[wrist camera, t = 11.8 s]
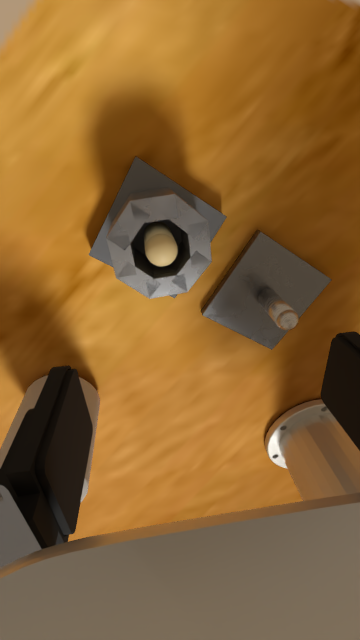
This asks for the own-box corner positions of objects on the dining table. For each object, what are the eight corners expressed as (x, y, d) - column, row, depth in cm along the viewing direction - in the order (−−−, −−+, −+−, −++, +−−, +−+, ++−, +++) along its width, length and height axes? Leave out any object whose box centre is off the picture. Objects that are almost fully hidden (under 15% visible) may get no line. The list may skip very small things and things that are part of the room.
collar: (193, 182, 22) (206, 189, 18) (201, 267, 25) (213, 287, 22) (104, 196, 22) (97, 205, 18) (124, 280, 25) (122, 303, 21)
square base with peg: (222, 213, 25) (247, 231, 19) (172, 291, 28) (182, 326, 22) (135, 156, 22) (135, 157, 16) (90, 249, 25) (78, 278, 19)
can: (31, 361, 29) (-24, 475, 19) (107, 375, 32) (94, 485, 21) (23, 415, 33) (-29, 537, 22) (93, 424, 35) (75, 541, 24)
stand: (326, 276, 29) (368, 303, 24) (268, 344, 32) (294, 382, 27) (256, 229, 26) (287, 249, 21) (200, 310, 29) (215, 345, 24)
